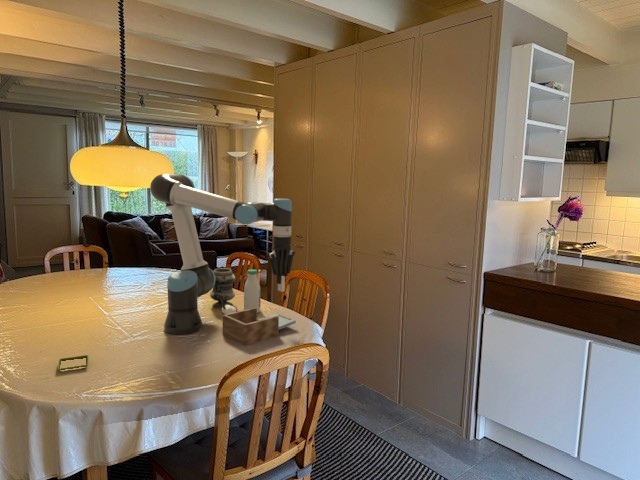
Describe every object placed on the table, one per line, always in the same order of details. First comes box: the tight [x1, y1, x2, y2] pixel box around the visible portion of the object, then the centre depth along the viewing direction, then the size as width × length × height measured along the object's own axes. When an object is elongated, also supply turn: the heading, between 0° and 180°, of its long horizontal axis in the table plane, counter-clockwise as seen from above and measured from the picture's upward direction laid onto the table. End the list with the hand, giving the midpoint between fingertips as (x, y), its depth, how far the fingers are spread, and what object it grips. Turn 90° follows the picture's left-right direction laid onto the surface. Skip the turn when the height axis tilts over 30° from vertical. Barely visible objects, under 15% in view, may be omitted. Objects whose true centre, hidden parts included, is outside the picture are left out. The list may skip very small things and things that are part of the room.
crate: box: [221, 308, 280, 346], centre depth 177 cm, size 16×16×8 cm
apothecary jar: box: [209, 267, 236, 309], centre depth 215 cm, size 12×12×18 cm
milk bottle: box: [243, 268, 261, 314], centre depth 207 cm, size 8×8×20 cm
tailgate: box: [257, 312, 297, 331], centre depth 187 cm, size 2×13×10 cm
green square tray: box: [57, 354, 89, 371], centre depth 145 cm, size 9×9×2 cm
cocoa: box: [219, 295, 238, 315], centre depth 195 cm, size 10×6×12 cm, turn 114°
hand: (281, 290), depth 186 cm, fingers closed
